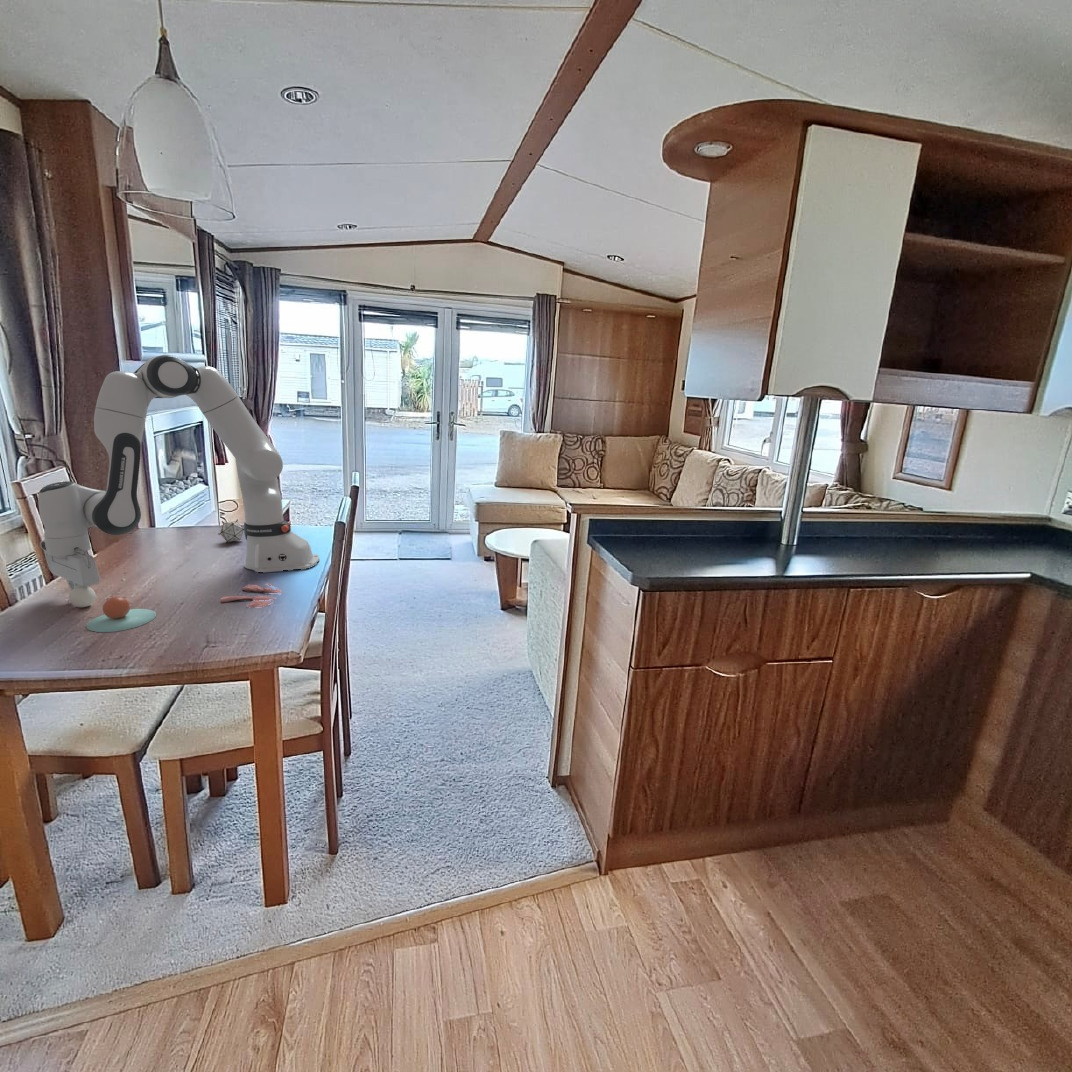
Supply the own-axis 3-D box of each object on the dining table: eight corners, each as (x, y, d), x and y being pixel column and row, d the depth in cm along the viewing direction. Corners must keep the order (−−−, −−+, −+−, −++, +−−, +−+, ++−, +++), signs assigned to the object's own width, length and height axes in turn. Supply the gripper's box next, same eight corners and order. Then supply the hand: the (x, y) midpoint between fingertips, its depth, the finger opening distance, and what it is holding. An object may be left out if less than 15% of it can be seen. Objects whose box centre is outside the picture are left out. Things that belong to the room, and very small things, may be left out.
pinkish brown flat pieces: (262, 615, 149) (262, 606, 148) (189, 606, 153) (188, 598, 152) (307, 588, 168) (307, 580, 168) (241, 582, 172) (240, 574, 172)
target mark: (166, 608, 149) (166, 607, 149) (139, 631, 136) (138, 630, 136) (106, 610, 147) (106, 609, 147) (73, 633, 134) (73, 632, 134)
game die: (237, 552, 210) (239, 535, 204) (213, 545, 208) (214, 527, 202) (248, 535, 217) (250, 518, 210) (224, 528, 215) (225, 510, 208)
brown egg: (133, 593, 144) (132, 610, 146) (106, 591, 142) (106, 608, 144) (127, 606, 140) (126, 624, 142) (99, 604, 137) (99, 622, 140)
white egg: (94, 580, 151) (104, 599, 152) (73, 588, 150) (83, 607, 151) (81, 585, 145) (91, 605, 146) (59, 593, 145) (70, 613, 146)
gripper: (101, 548, 146) (110, 599, 150) (65, 536, 156) (74, 584, 160) (72, 554, 141) (82, 607, 145) (36, 541, 151) (47, 590, 155)
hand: (78, 595), depth 152 cm, fingers closed
